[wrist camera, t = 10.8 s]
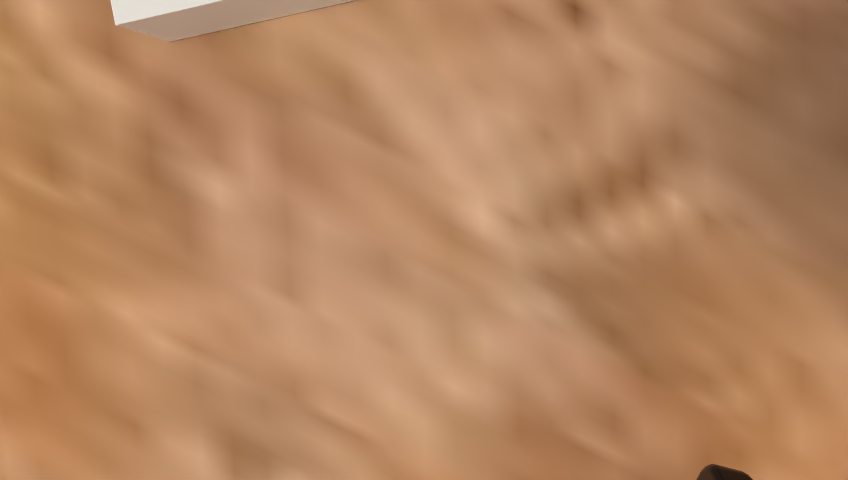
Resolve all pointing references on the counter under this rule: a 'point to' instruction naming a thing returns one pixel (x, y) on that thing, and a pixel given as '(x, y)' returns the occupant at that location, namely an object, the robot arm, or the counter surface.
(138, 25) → the tray
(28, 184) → the counter surface
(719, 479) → the robot arm
